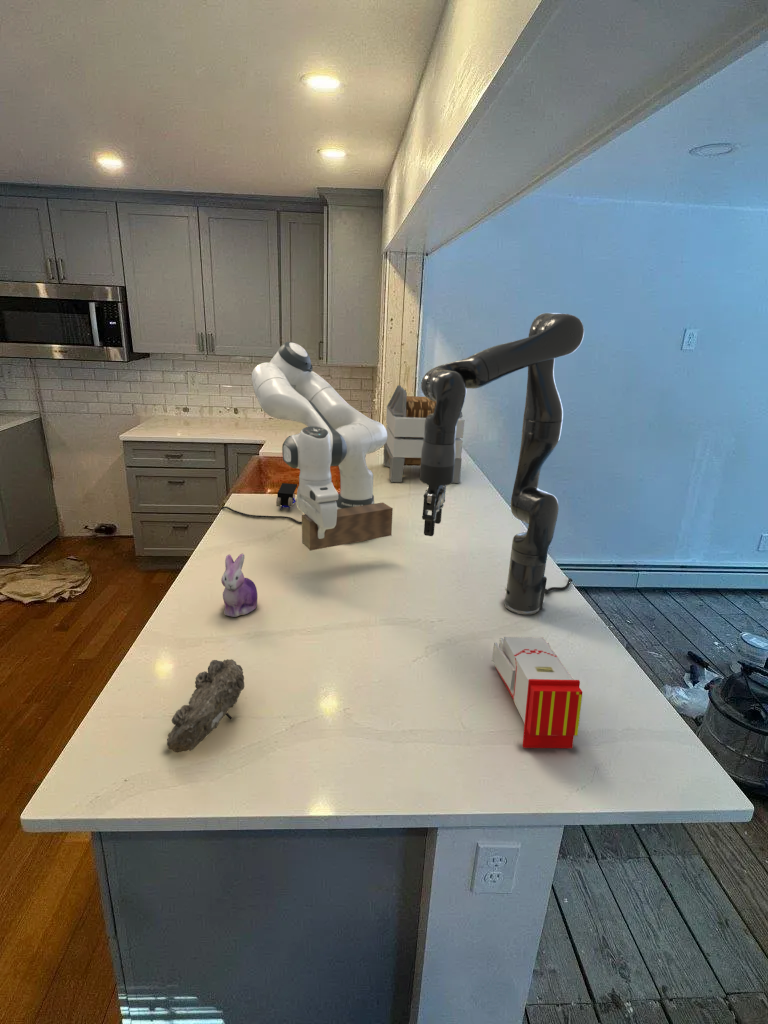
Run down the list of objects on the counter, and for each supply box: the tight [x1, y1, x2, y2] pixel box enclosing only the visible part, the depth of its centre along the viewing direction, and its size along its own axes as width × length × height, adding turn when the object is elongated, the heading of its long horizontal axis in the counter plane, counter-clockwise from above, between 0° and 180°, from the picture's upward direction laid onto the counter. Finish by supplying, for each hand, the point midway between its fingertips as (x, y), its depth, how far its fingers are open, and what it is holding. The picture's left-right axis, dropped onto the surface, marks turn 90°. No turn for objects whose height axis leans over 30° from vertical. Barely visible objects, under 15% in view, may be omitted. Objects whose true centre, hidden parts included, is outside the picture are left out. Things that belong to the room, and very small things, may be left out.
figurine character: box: [275, 482, 298, 511], centre depth 221 cm, size 7×8×15 cm
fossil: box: [166, 658, 245, 754], centre depth 106 cm, size 22×10×15 cm
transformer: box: [383, 384, 465, 484], centre depth 268 cm, size 34×33×41 cm
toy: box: [491, 636, 583, 749], centre depth 115 cm, size 12×13×30 cm
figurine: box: [220, 553, 258, 618], centre depth 144 cm, size 9×10×15 cm
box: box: [301, 502, 394, 551], centre depth 166 cm, size 26×6×9 cm, turn 120°
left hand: (315, 533), depth 161 cm, fingers closed on box, 6 cm apart
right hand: (432, 528), depth 132 cm, fingers open, 8 cm apart
